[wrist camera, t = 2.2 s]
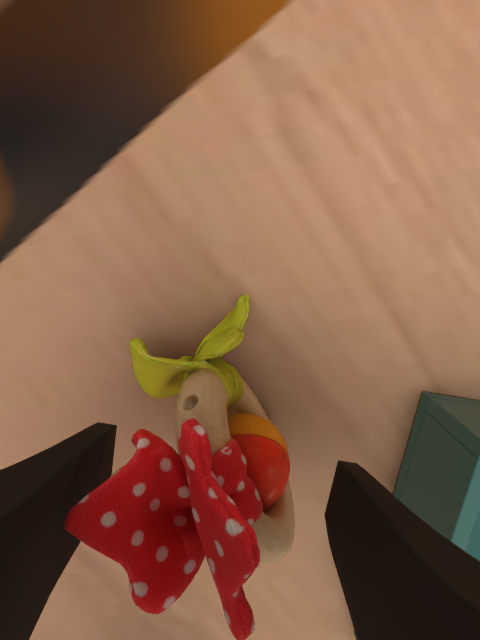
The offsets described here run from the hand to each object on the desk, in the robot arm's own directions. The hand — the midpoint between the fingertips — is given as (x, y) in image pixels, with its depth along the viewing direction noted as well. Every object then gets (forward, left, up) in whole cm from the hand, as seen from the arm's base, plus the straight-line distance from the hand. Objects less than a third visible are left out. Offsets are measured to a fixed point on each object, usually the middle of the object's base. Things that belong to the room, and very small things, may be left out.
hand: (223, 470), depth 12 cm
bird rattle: (0, 0, -6) cm, 6 cm away
